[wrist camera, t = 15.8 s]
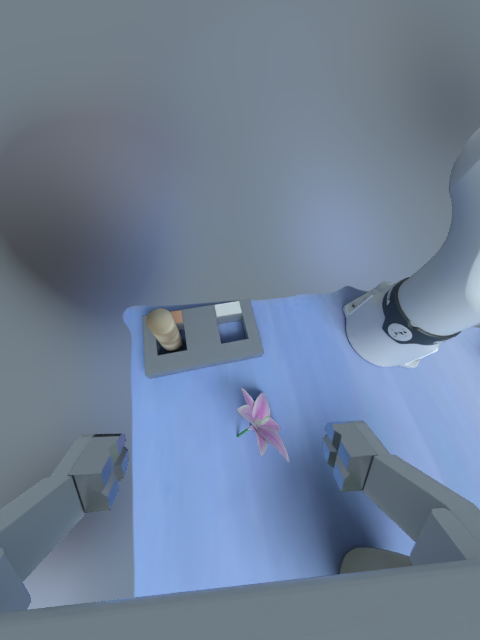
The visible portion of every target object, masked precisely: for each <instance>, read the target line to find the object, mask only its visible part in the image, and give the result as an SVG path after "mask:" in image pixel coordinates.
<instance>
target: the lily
mask: <svg viewBox="0 0 480 640" xmlns="http://www.w3.org/2000/svg"><path fill="white" fill-rule="evenodd" d="M241 390H242V392H243V395H244V397H245V400H246V403H247V405H243V406H241V407H239V408H238V410H237V411H238V412H239V414H241V415H242V416H243V417H244V418H245V419H246V420H248V421H249V422H250V427H249V428H248V429H246V430H244V431H243V432H241V433H240V434H239V435H237V437H239V436H240V435H242V434H243V433H245V432H246V431H248V430H254V431H255V433H256V437H257V442H258V447H259V452H260V455H261V456H263V455H264V453H265V451H266V449H267V446H268V442H270V443H271V444H272V445H273V446H274V447H275V448H276V449H277V450H278V451H279V452H280V453H281V454H282V455H283V456H284V458H285V459H286V460H287V461H288V462H289V457H288V454H287V451H286V449H285V446H284V444H283V442H282V440H281V438H280V436H279V435H278V434H277V433H278V432H279V431H280V430H281V428H280V426H279V425H278V424H277V423H276V422H275V421H274V420H273V419H272V418H271V417H270V407H269V403H268V400H267V398H266V396H265V394H264V393H263V392H262V393H261V394H260V395H259V396H258V398H257V399H256V401H255V402H254V400H253V399H252V397H251V396H250V395H249V394H248V393H247V392H246V391H245V390H244V389H243V388H241Z"/></svg>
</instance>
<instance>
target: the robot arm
mask: <svg viewBox="0 0 480 640" xmlns="http://www.w3.org/2000/svg"><path fill="white" fill-rule="evenodd" d="M449 193H450V197H451V202H452V220H451V226H450V229H449V232H448V236H447V238H446V240H445V242H444V243H443V245H442V247H441V248H440V249H439V251H438V252H437V253H436V254H435V255H434V256H433V257H432V258H431V259H430V260H429V261H428V262H427V263H426V264H425V265H424V266H423V267H421V268H420V269H419V270H418V271H417V272H416V273H414V274H413V275H412V276H411V277H408V278H406V279H403V280H401V281H399V282H397V283H395V284H393V283H390V282H382V283H381V284H379V285H378V286H377V287H376V288H374V289H373V290H371V291H369V292H367V293H366V294H364V295H362V296H360V297H358V298H357V299H355V300H353V301H351V302H350V303H348V304H346V305H345V306H344V307H343V311H344V314H345V317H346V332H347V336H348V339H349V341H350V343H351V345H352V347H353V348H354V350H355V351H356V352H357V353H358V354H359V355H360V356H361V357H363V358H364V359H365V360H367V361H368V362H370V363H372V364H375V365H378V366H382V367H393V366H401V367H405V368H409V369H412V368H415V367H417V366H418V363H419V361H420V358H423V357H425V356H427V355H430V354H432V353H434V352H436V351H437V350H438V346H439V344H440V343H442V342H445V341H447V340H449V339H451V338H452V337H455V336H457V335H458V334H459V333H460V332H461V331H463V330H465V329H468V328H470V327H473V326H475V325H478V324H480V127H479V129H478V130H477V131H476V132H475V133H474V134H473V135H472V136H471V137H470V139H469V140H468V142H467V143H466V144H465V145H464V147H463V148H462V150H461V151H460V153H459V155H458V156H457V159H456V161H455V163H454V165H453V168H452V170H451V174H450V180H449ZM352 306H353V307H354V308H353V307H352ZM325 431H326V433H327V435H326V436H325V437H324V438H323V442H322V448H323V453H324V457H325V459H326V461H327V463H328V464H329V465H330V466H331V467H333V468H334V470H333V476H334V478H335V480H336V482H337V484H338V486H339V488H340V490H341V492H348V491H363V493H364V494H365V495H366V496H367V497H368V498H370V499H371V500H372V501H373V502H374V503H375V504H376V505H377V506H378V507H379V508H380V509H381V510H382V511H383V512H384V513H385V514H386V515H387V516H388V517H389V518H391V519H392V520H393V521H394V522H395V523H396V524H397V525H398V526H399V527H400V528H401V529H402V530H403V531H404V532H405V533H406V534H407V535H408V536H409V537H410V538H412V539H413V540H414V541H415V542H416V543H415V545H414V547H413V549H412V551H411V553H410V561H411V562H412V564H413V566H407V567H399V568H390V569H381V570H372V571H363V572H355V573H346V574H337V575H328V576H319V577H311V578H302V579H293V580H284V581H275V582H267V583H258V584H249V585H240V586H231V587H223V588H214V589H205V590H196V591H187V592H179V593H170V594H161V595H152V596H144V597H135V598H126V599H117V600H109V601H101V602H92V603H82V604H74V605H65V606H56V607H47V608H39V609H30V610H27V608H28V606H29V604H30V603H31V597H30V594H29V592H28V591H27V589H26V588H25V586H24V584H23V581H24V580H25V579H26V578H27V577H28V576H29V575H30V574H31V572H32V571H33V570H34V569H35V568H36V567H37V566H38V565H39V564H40V563H41V561H42V560H43V559H44V558H45V557H46V556H47V555H48V554H49V553H50V552H51V551H52V550H53V548H54V547H55V546H56V545H57V544H58V543H59V542H60V541H61V540H62V539H63V538H64V536H65V535H66V534H67V533H68V532H69V531H70V530H71V529H72V528H73V527H74V526H75V524H76V523H77V522H78V521H79V520H80V519H81V518H82V517H83V516H84V513H90V512H99V511H107V510H111V508H112V506H113V503H114V501H115V498H116V496H117V493H118V491H119V488H118V482H119V481H120V480H121V479H122V478H124V476H125V473H126V470H127V466H128V461H129V453H128V449H127V448H126V447H125V446H124V444H125V442H126V438H125V435H124V434H93V435H81V436H79V437H78V438H77V439H76V441H75V442H74V443H73V445H72V447H71V448H70V449H69V451H68V452H67V453H66V455H65V456H64V458H63V459H62V460H61V462H60V463H59V465H58V466H57V468H56V469H55V470H54V472H53V473H52V475H51V476H50V477H47V478H44V479H42V480H41V481H40V482H38V483H37V484H35V485H34V486H33V487H31V488H30V489H28V490H27V491H26V492H24V493H23V494H21V495H20V496H19V497H18V498H16V499H15V500H13V501H12V502H10V503H9V504H7V505H6V506H5V507H3V508H2V509H0V640H480V510H479V509H478V508H477V507H476V506H475V505H474V504H473V503H471V502H470V501H468V500H467V499H465V498H463V497H462V496H460V495H459V494H457V493H455V492H454V491H452V490H450V489H449V488H447V487H446V486H444V485H442V484H441V483H439V482H438V481H436V480H434V479H433V478H431V477H430V476H428V475H426V474H425V473H423V472H422V471H420V470H418V469H417V468H415V467H414V466H412V465H410V464H409V463H407V462H406V461H404V460H402V459H401V458H399V457H398V456H396V455H391V454H390V453H389V452H388V450H387V449H386V448H385V447H384V445H383V444H382V443H381V442H380V440H379V439H378V438H377V437H376V435H375V434H374V433H373V432H372V430H371V429H370V428H369V427H368V425H367V424H366V423H365V422H364V421H351V422H333V423H327V424H326V426H325Z"/></svg>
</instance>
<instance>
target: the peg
mask: <svg viewBox="0 0 480 640" xmlns="http://www.w3.org/2000/svg"><path fill="white" fill-rule="evenodd" d="M146 325H147V327H148V328H149V329H150V331H151V332H152V333H153V335H154V336H155V337H156V339H157V340H158V341H159V343H160V344H161V345H162V347H163V348H164V349H165V351H166V352H168V353H174V352H180V351H181V350H182V348H183V346H184V341H183V339H182V337H181V335H180V332H179V330H178V328H177V326H176V323H175V321H174V319H173V317H172V315H171V313H170V312H169V311H168V310H166V309H162V308H159V309H155V310H153V311H151V312H150V313H149V314H148V316H147V318H146Z"/></svg>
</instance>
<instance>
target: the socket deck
mask: <svg viewBox="0 0 480 640" xmlns="http://www.w3.org/2000/svg"><path fill="white" fill-rule="evenodd" d="M170 313H171V315H172V317H173V319H174V321H175V323H176V326H177V328H178V330H179V331H181V330H185V337H186V344H187V350H185V351H180V352H174V353H169V354H164V355H161V352H160V343H159V341H158V340H157V339H156V337H155V336H154V335H153V333H152V332H151V331H150V329H149V328H148V327H147V325H146V318H147V316H148V315H144V316H142V318H143V337H144V356H145V375H146V376H147V377H149V378H150V379H151V378H156V377H161V376H166V375H171V374H176V373H181V372H186V371H191V370H196V369H201V368H206V367H211V366H216V365H221V364H226V363H231V362H236V361H241V360H246V359H251V358H256V357H261V356H262V355H263V353H264V351H263V347H262V343H261V340H260V336H259V332H258V329H257V325H256V321H255V318H254V314H253V310H252V307H251V303H250V300H249V299H247V300H240V301H234V302H227V303H221V304H214V305H208V306H202V307H195V308H189V309H182V310H176V311H170ZM239 320H241V321H242V325H243V329H244V333H245V337H246V339H245V340H239V341H234V342H228V343H223V344H221V340H220V335H219V330H218V325H217V324H222V323H228V322H234V321H239Z"/></svg>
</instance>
